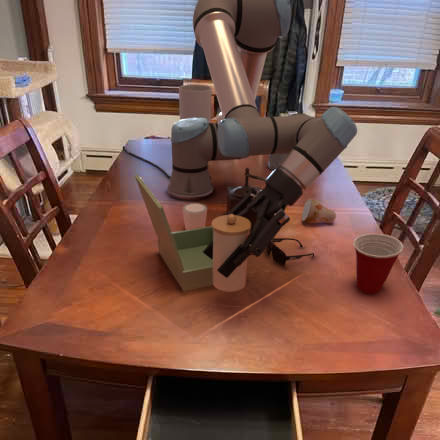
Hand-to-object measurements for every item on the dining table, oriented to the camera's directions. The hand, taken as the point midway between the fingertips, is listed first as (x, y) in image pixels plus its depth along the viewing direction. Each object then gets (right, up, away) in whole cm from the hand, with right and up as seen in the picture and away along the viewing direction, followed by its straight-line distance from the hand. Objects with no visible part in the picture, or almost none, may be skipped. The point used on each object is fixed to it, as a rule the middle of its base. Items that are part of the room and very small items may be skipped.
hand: (214, 264), depth 95 cm
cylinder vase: (-9, +52, +96) cm, 110 cm away
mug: (+31, +15, +44) cm, 56 cm away
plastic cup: (+36, -5, +15) cm, 40 cm away
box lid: (-12, +10, +10) cm, 19 cm away
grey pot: (+24, +42, +83) cm, 96 cm away
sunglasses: (+19, +4, +26) cm, 33 cm away
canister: (+3, -4, +4) cm, 6 cm away
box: (-4, +1, +21) cm, 21 cm away
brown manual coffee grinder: (+11, +15, +43) cm, 47 cm away
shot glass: (-6, +12, +38) cm, 40 cm away
